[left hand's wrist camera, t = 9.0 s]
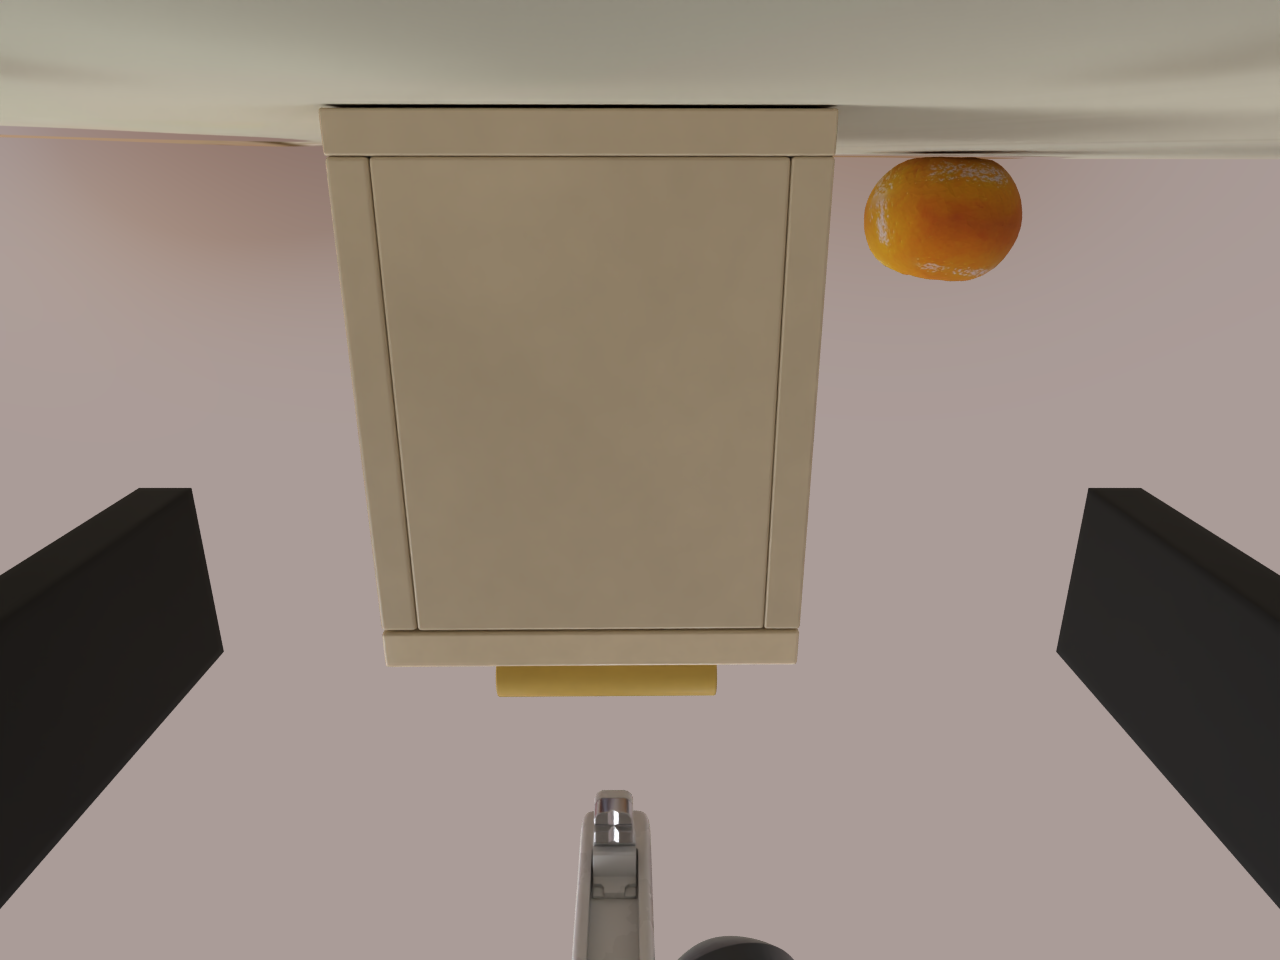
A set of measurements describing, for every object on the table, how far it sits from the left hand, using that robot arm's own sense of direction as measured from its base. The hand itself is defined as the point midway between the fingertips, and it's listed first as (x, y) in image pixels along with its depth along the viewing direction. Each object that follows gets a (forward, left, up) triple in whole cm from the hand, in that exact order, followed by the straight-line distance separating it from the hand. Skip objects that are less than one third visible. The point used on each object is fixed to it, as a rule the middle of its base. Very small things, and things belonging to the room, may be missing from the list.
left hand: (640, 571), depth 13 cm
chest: (+7, -9, -7) cm, 13 cm away
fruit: (+41, -16, -7) cm, 44 cm away
